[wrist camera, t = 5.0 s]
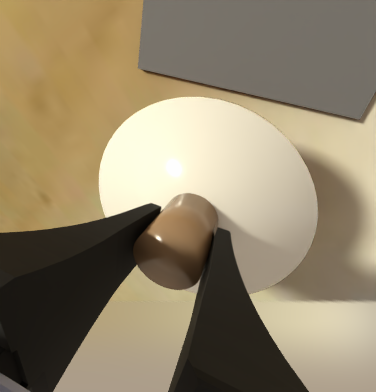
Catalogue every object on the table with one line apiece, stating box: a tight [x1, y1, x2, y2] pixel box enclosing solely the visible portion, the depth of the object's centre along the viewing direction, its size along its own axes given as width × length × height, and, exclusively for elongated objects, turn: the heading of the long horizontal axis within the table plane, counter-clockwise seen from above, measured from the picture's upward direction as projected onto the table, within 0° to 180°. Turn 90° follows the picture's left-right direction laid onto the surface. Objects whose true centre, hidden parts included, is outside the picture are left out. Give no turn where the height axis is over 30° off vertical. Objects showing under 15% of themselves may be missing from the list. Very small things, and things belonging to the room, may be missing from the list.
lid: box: [99, 97, 318, 294], centre depth 10 cm, size 12×12×4 cm
